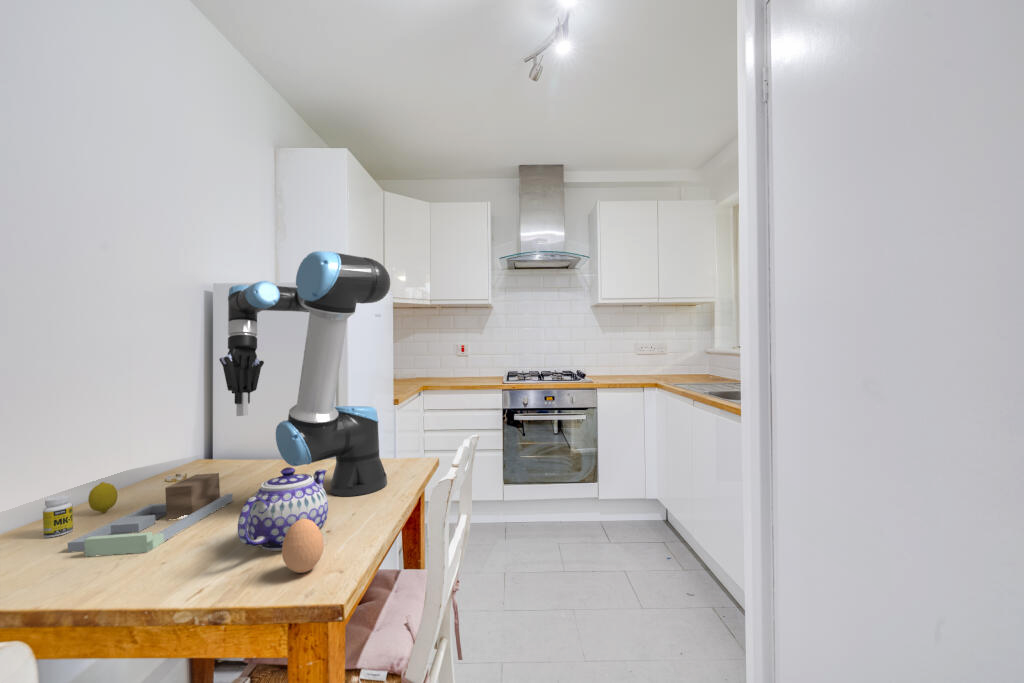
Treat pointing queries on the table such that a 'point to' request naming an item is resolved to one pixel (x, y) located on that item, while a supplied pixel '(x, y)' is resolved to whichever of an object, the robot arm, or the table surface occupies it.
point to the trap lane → (121, 542)
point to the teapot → (282, 508)
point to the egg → (302, 546)
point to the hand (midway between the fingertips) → (242, 415)
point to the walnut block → (191, 494)
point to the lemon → (103, 497)
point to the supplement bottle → (57, 516)
